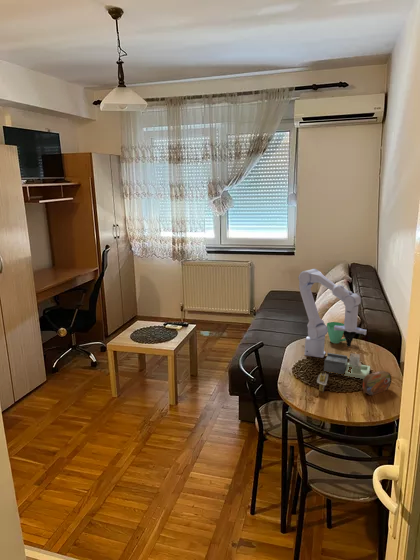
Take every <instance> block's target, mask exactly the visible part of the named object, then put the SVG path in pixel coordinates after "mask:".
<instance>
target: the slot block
mask: <svg viewBox="0 0 420 560" xmlns="http://www.w3.org/2000/svg"><path fill="white" fill-rule="evenodd" d="M326 354H327V355H326V358H325V359H324V365H323V372H324V371H327V372H334V373H338V374H344V373H345V370H346V367H347V364H348V355H344V354H339V353H338V354H337V353H331V352H327V353H326ZM338 374H337V375H338ZM344 375H345V374H344Z"/></svg>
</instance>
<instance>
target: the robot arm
mask: <svg viewBox="0 0 420 560" xmlns="http://www.w3.org/2000/svg"><path fill="white" fill-rule="evenodd" d="M298 281H299V282H298V289H299V293H300V297H301V298H302V302H303V306H304V308H305V312H306V315H307V318H308V323H307V325H306V326H307V336H306V338H305V341H304V342H305V343H304V356H309V357H315V358H322V359H323V358H324V357H325V356H326V354H327V353H326V351H325V343H326V342H325V341H326V339H325V338H326V335H328V328H327V324H326V323H325V321H324V320H323V319H322V318H320V317H321V316H320V315H319V311H318V308H317V305H316V302H315V299H314V296H313V292H312V286H313V285H314V284H315V283H316V284H317V283H319V284H321V285H322V286H323V287H325V288H326V289H329V290H330V291H331V294H332V295H333V296H334V297H336V298H337V299H339V300H340V301H342V302H343V305H344V307H345V308H344V309H345V311H344V322H343V324H344V326H336V325H335V326H334V330H339V331H344V333H343V336H344V338H345V339H346V341H345V342H346V347H347V348H350V347H351V346H352V345H351V344H352V342H353V339H354V337H355V336H356V334H361V335H364V336H366V335H367V329H363V328H360V327H358V319H359V318H358V315H359V305H360V304H361V303H362V297H361V295H359V293H356V292H354V293H353V291H350V290H349V289H347V288H345V286H344V285H343V284H342V285H341V284H335V283H334V282H333V281H332V280H331V279H329V278H328V277H326V276H325V275H324V274H323V273H322V272H321V271H320V270H318V269H317V268H311V269H307V270H303V271H301V272H300V273H299V275H298Z"/></svg>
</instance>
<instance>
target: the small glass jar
mask: <svg viewBox="0 0 420 560" xmlns="http://www.w3.org/2000/svg"><path fill="white" fill-rule="evenodd" d="M328 379H329V373H326V372H324V373H322V372H320V374H318V376H317V378H316V383H317V384H319V386H318V387H319V388H318V389H319V391H320V392H322V393H324V391H325V388H326V386H327V384H328Z"/></svg>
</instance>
